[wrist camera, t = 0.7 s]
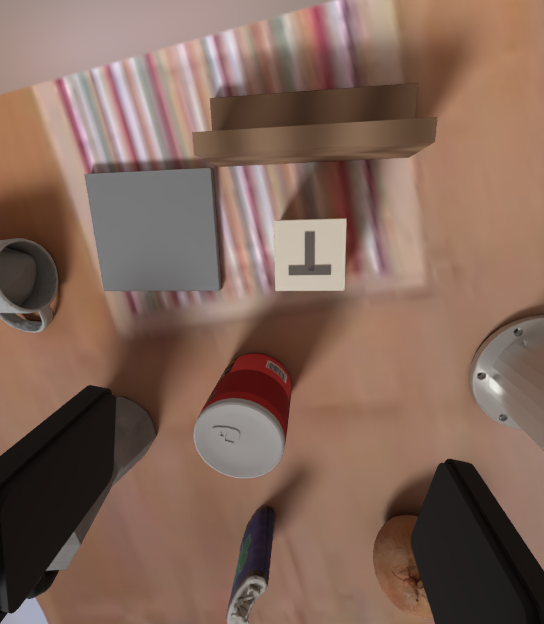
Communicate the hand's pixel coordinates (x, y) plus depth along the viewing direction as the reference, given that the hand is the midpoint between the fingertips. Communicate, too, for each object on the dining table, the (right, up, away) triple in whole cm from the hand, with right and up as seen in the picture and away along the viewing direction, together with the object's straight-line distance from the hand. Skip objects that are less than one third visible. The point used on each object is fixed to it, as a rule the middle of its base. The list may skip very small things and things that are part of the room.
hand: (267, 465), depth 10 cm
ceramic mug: (-28, +8, +30) cm, 41 cm away
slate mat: (-12, +13, +26) cm, 31 cm away
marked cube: (+4, +11, +25) cm, 27 cm away
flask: (-2, -25, +36) cm, 44 cm away
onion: (+17, -23, +33) cm, 44 cm away
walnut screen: (+4, +21, +22) cm, 31 cm away
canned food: (-1, -4, +30) cm, 30 cm away
